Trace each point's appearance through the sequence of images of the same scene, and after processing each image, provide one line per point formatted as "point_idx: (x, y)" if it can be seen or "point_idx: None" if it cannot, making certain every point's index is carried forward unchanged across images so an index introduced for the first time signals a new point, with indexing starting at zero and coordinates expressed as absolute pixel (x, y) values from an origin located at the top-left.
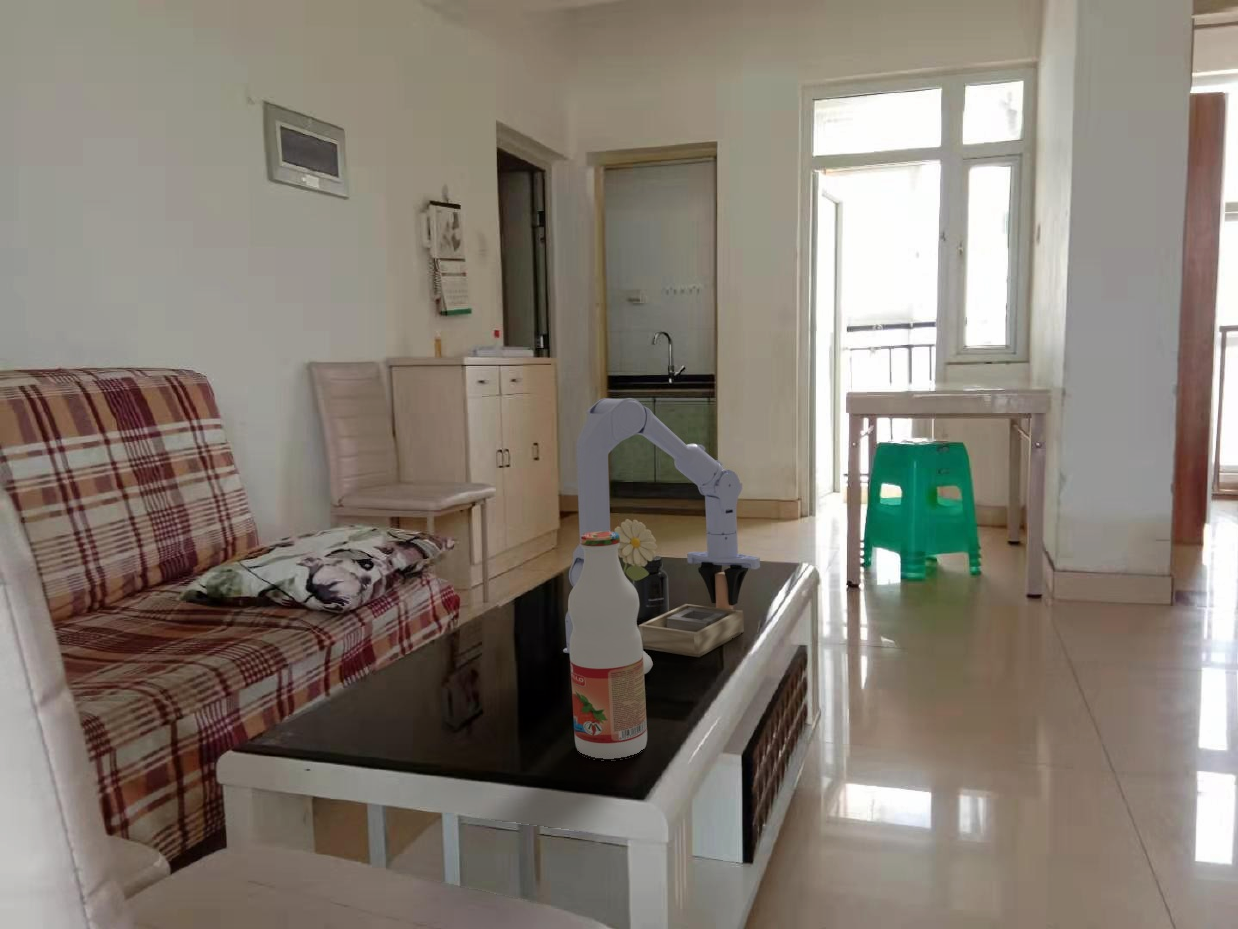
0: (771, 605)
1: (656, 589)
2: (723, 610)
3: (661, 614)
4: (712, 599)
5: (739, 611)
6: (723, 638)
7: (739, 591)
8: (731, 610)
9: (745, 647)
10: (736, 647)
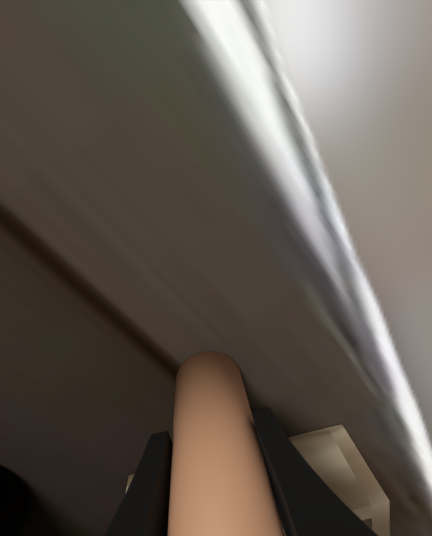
0: (202, 28)
1: None
2: None
3: (18, 534)
4: None
5: (382, 514)
6: None
7: (297, 451)
8: None
9: (413, 498)
10: (393, 510)
